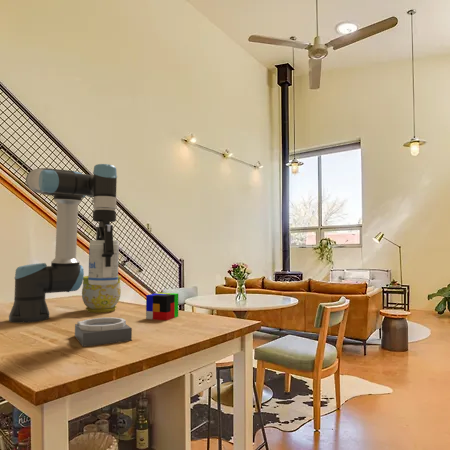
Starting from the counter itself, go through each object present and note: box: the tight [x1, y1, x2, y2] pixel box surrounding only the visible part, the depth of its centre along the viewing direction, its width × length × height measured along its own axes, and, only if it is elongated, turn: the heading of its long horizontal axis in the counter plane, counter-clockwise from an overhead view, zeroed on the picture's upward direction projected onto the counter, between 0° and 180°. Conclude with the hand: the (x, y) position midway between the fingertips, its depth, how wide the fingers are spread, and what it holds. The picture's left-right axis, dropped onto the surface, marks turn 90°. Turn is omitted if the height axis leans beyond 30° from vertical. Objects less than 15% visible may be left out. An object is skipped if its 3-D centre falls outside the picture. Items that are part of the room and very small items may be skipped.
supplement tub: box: [87, 239, 120, 285], centre depth 126 cm, size 10×10×15 cm
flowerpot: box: [81, 274, 122, 314], centre depth 180 cm, size 18×18×16 cm
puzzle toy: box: [145, 292, 179, 321], centre depth 162 cm, size 10×10×10 cm
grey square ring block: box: [74, 317, 133, 348], centre depth 125 cm, size 16×15×6 cm
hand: (103, 276), depth 126 cm, fingers closed on supplement tub, 10 cm apart
